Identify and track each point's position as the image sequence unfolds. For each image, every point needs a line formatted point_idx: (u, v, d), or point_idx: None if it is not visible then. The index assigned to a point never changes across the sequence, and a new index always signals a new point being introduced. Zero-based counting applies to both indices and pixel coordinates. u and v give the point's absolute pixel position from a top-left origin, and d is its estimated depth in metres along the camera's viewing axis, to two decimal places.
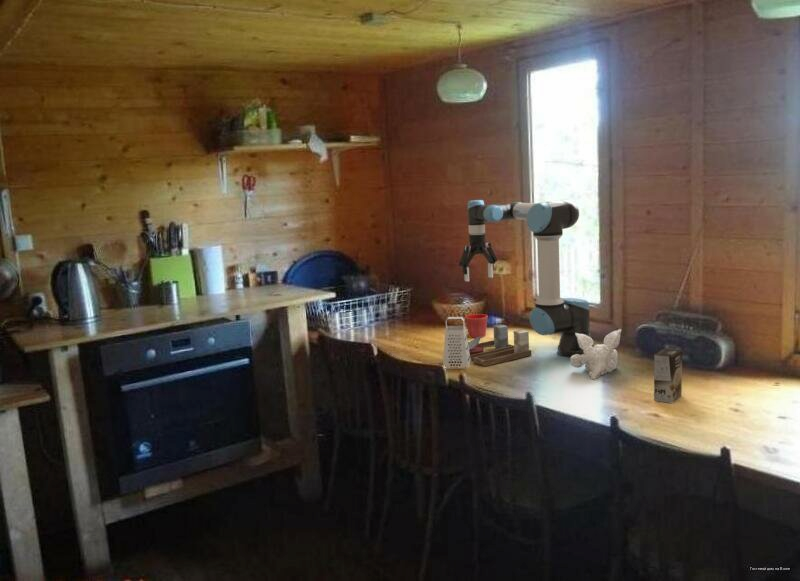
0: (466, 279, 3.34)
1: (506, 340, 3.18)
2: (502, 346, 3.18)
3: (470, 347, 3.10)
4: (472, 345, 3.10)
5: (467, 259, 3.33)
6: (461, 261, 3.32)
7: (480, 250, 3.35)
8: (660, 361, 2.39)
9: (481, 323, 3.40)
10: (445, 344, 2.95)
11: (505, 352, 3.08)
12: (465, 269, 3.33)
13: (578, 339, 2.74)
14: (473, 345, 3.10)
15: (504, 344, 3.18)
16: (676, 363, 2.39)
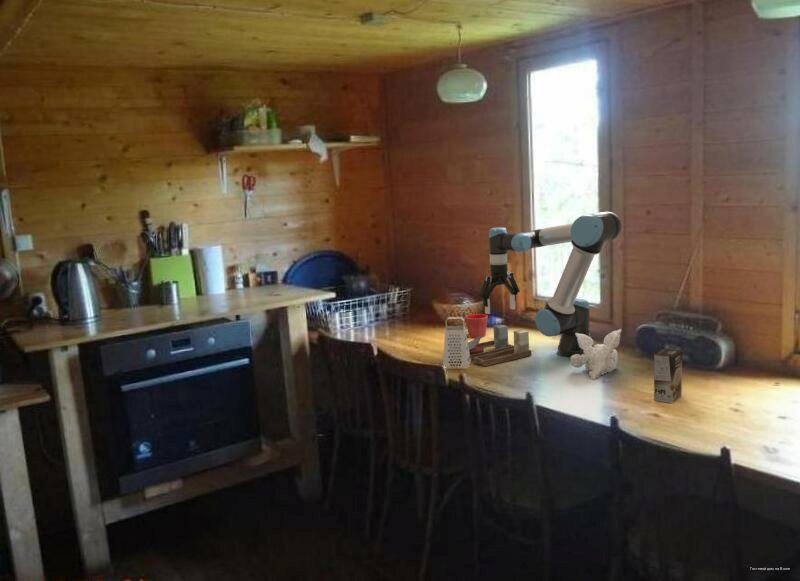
0: (487, 311, 3.14)
1: (506, 340, 3.18)
2: (502, 346, 3.18)
3: (470, 347, 3.10)
4: (472, 345, 3.10)
5: (488, 290, 3.13)
6: (481, 292, 3.12)
7: (502, 281, 3.15)
8: (660, 361, 2.39)
9: (481, 323, 3.40)
10: (445, 344, 2.95)
11: (505, 352, 3.08)
12: (486, 301, 3.13)
13: (578, 339, 2.74)
14: (473, 345, 3.10)
15: (504, 344, 3.18)
16: (676, 363, 2.39)
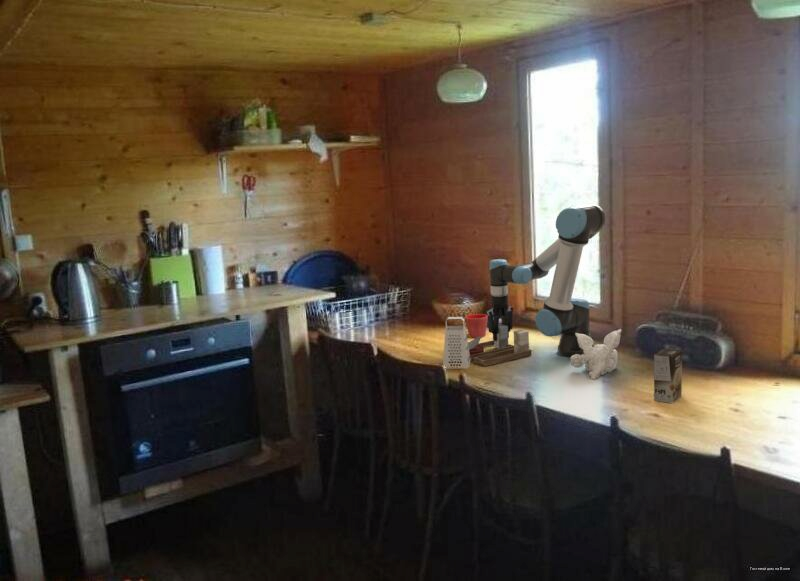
0: (496, 345, 3.19)
1: (506, 340, 3.18)
2: (502, 346, 3.18)
3: (470, 347, 3.10)
4: (472, 345, 3.10)
5: (494, 324, 3.17)
6: (489, 328, 3.16)
7: (502, 312, 3.17)
8: (660, 361, 2.39)
9: (481, 323, 3.40)
10: (445, 344, 2.95)
11: (505, 352, 3.08)
12: (495, 335, 3.17)
13: (578, 339, 2.74)
14: (473, 345, 3.10)
15: (504, 344, 3.18)
16: (676, 363, 2.39)
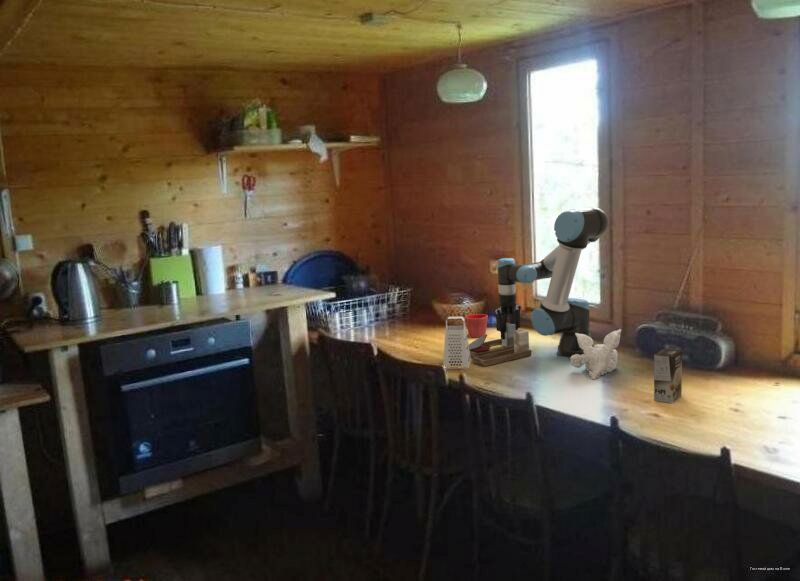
0: (504, 344, 3.21)
1: None
2: (510, 344, 3.20)
3: (476, 345, 3.11)
4: (478, 344, 3.12)
5: (502, 323, 3.19)
6: (498, 326, 3.18)
7: (510, 310, 3.19)
8: (660, 361, 2.39)
9: (481, 323, 3.40)
10: (445, 344, 2.95)
11: (505, 352, 3.08)
12: (503, 334, 3.19)
13: (578, 339, 2.74)
14: (479, 343, 3.11)
15: (512, 342, 3.20)
16: (676, 363, 2.39)
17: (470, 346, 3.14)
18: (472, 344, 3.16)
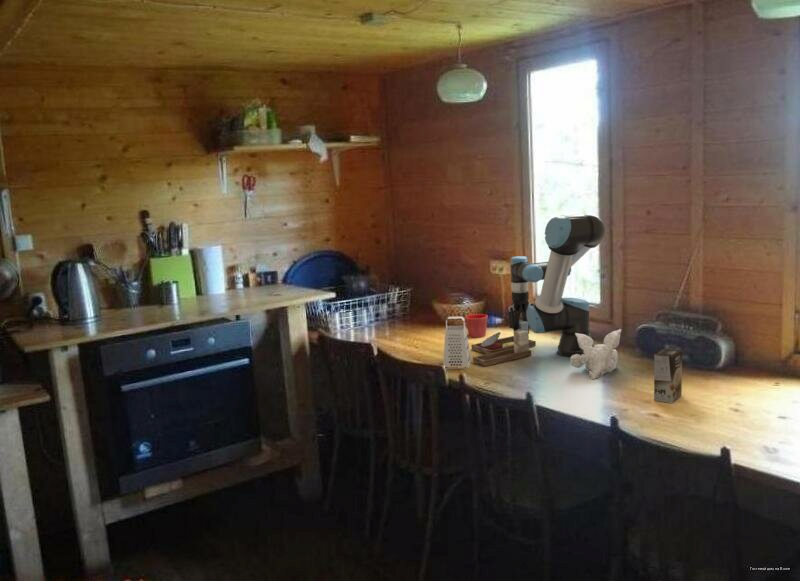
0: None
1: None
2: None
3: (489, 343, 3.15)
4: (492, 341, 3.15)
5: (515, 320, 3.22)
6: (510, 324, 3.22)
7: (523, 308, 3.23)
8: (660, 361, 2.39)
9: (481, 323, 3.40)
10: (445, 344, 2.95)
11: (505, 352, 3.08)
12: None
13: (578, 339, 2.74)
14: (492, 341, 3.15)
15: None
16: (676, 363, 2.39)
17: (483, 343, 3.18)
18: (485, 341, 3.19)
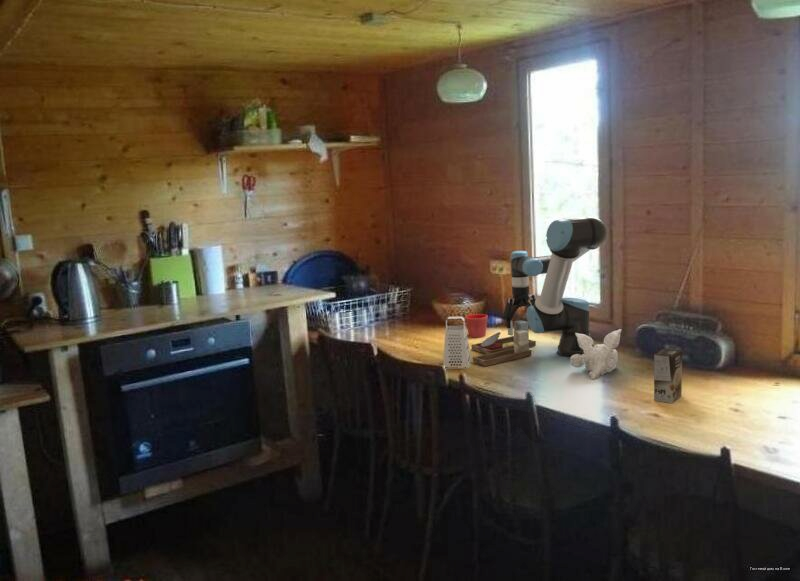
0: (509, 333, 3.21)
1: None
2: None
3: (489, 343, 3.15)
4: (492, 341, 3.15)
5: (510, 312, 3.20)
6: (504, 315, 3.19)
7: (524, 303, 3.22)
8: (660, 361, 2.39)
9: (481, 323, 3.40)
10: (445, 344, 2.95)
11: (505, 352, 3.08)
12: (509, 323, 3.20)
13: (578, 339, 2.74)
14: (492, 341, 3.15)
15: None
16: (676, 363, 2.39)
17: (483, 343, 3.18)
18: (485, 341, 3.19)
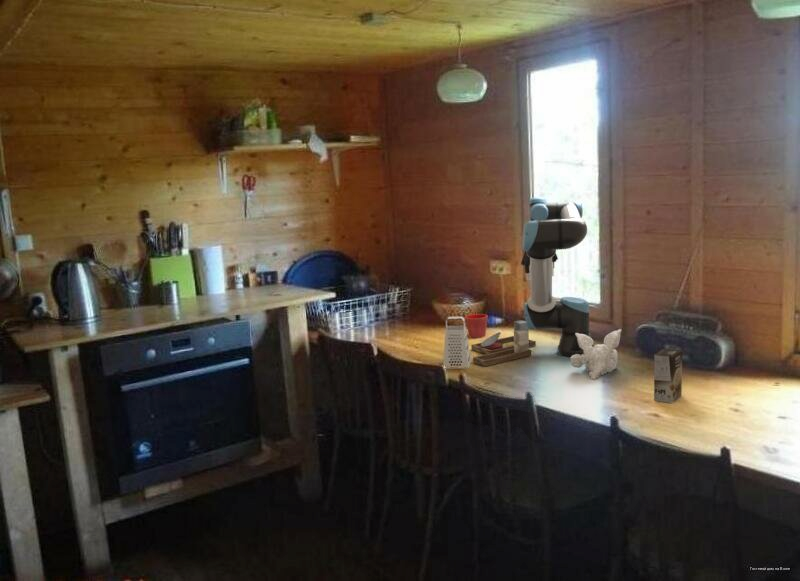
0: (528, 278, 3.27)
1: None
2: None
3: (489, 343, 3.15)
4: (492, 341, 3.15)
5: (529, 257, 3.26)
6: (523, 260, 3.24)
7: None
8: (660, 361, 2.39)
9: (481, 323, 3.40)
10: (445, 344, 2.95)
11: (505, 352, 3.08)
12: (527, 268, 3.25)
13: (578, 339, 2.74)
14: (492, 341, 3.15)
15: None
16: (676, 363, 2.39)
17: (483, 343, 3.18)
18: (485, 341, 3.19)
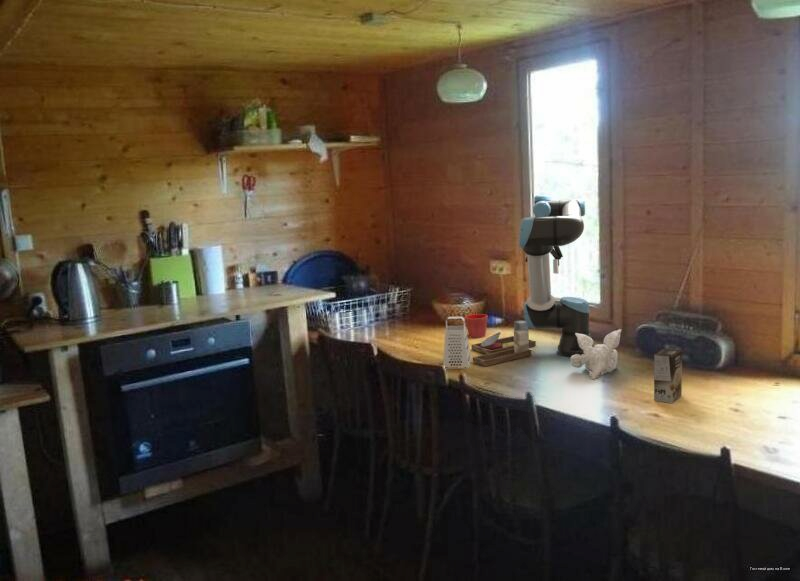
0: None
1: None
2: None
3: (489, 343, 3.15)
4: (492, 341, 3.15)
5: None
6: None
7: None
8: (660, 361, 2.39)
9: (481, 323, 3.40)
10: (445, 344, 2.95)
11: (505, 352, 3.08)
12: None
13: (578, 339, 2.74)
14: (492, 341, 3.15)
15: None
16: (676, 363, 2.39)
17: (483, 343, 3.18)
18: (485, 341, 3.19)
